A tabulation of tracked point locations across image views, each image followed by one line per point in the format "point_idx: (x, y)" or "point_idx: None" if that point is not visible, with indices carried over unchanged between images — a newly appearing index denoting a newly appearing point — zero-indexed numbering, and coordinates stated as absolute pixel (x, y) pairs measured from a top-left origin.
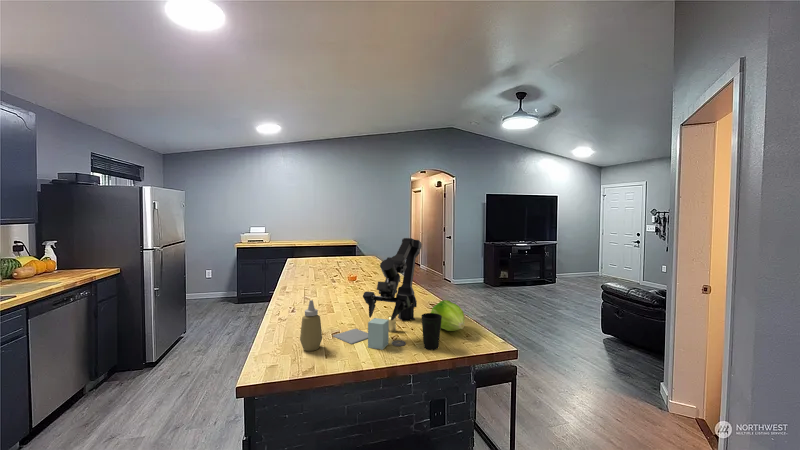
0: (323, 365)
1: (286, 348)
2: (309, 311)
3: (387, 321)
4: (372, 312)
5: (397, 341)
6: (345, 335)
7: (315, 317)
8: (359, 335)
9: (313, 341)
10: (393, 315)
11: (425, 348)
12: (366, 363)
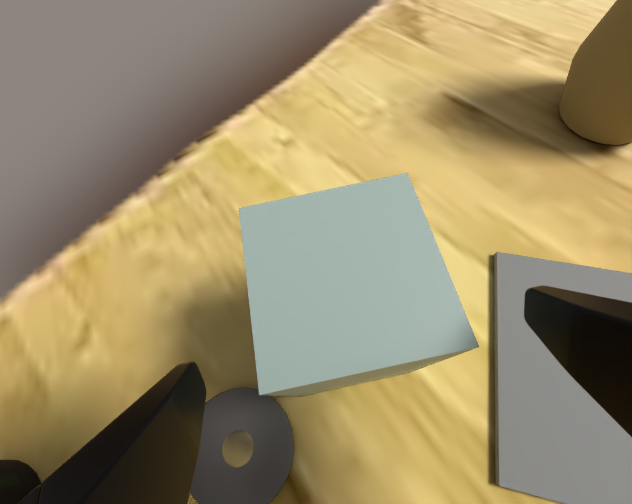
0: (400, 59)
1: None
2: None
3: (256, 347)
4: (621, 407)
5: (256, 471)
6: None
7: None
8: (590, 406)
9: (579, 48)
10: (140, 400)
11: (26, 466)
12: (269, 140)
